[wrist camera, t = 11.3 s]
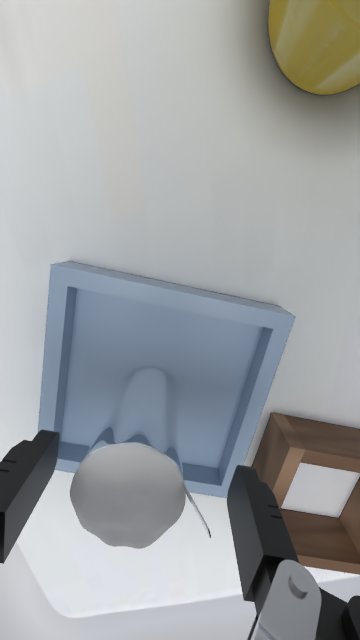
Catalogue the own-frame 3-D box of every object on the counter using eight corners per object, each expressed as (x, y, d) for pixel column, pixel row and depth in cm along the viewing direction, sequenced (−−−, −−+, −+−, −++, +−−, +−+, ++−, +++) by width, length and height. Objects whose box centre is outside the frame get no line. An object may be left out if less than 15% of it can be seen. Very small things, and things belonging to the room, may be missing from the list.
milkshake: (200, 407, 19) (222, 581, 9) (127, 421, 19) (74, 603, 9) (186, 348, 17) (195, 479, 8) (108, 365, 18) (25, 509, 8)
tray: (69, 261, 17) (50, 264, 14) (279, 306, 18) (295, 316, 15) (52, 440, 21) (35, 466, 18) (225, 470, 22) (231, 498, 19)
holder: (271, 412, 20) (290, 447, 17) (394, 435, 21) (436, 473, 17) (235, 510, 23) (245, 557, 19) (345, 528, 23) (373, 576, 20)
